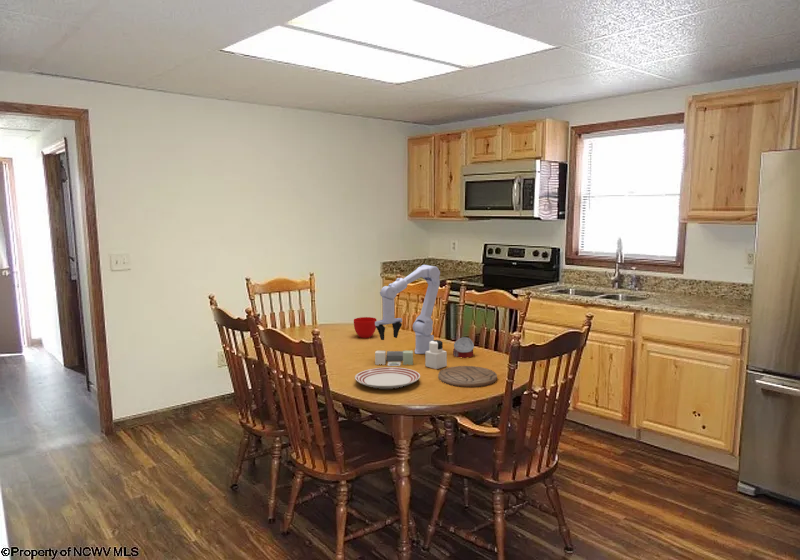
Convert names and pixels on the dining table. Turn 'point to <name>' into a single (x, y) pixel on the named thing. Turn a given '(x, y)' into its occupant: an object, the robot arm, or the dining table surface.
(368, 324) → the ceramic cup
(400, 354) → the base slab
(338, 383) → the dining table surface
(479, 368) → the trivet
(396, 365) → the card
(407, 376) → the dinner plate
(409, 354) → the sage block
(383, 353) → the offwhite block
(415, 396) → the dining table surface
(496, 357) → the dining table surface
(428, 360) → the medicine bottle
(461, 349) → the canned food
